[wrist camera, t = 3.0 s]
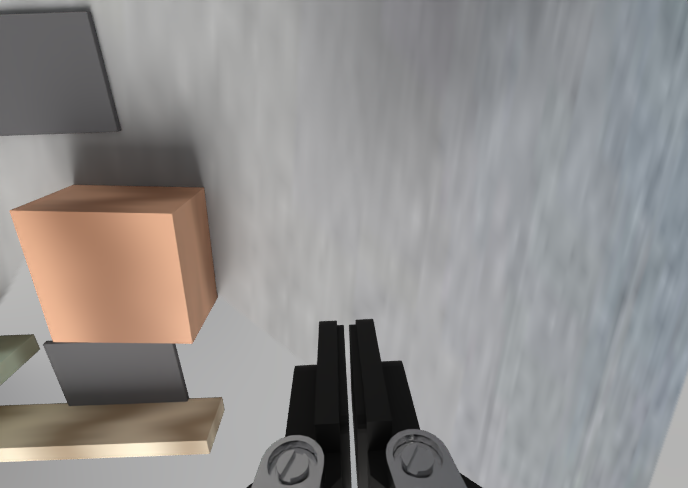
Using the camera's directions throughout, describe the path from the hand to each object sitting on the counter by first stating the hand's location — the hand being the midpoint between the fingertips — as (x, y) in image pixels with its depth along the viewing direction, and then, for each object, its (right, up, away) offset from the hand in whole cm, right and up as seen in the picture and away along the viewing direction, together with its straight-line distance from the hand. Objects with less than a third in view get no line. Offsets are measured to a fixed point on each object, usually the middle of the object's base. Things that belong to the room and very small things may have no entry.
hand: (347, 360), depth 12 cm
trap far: (-13, -4, +10) cm, 17 cm away
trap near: (-14, +11, +4) cm, 18 cm away
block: (-10, +4, +7) cm, 13 cm away
